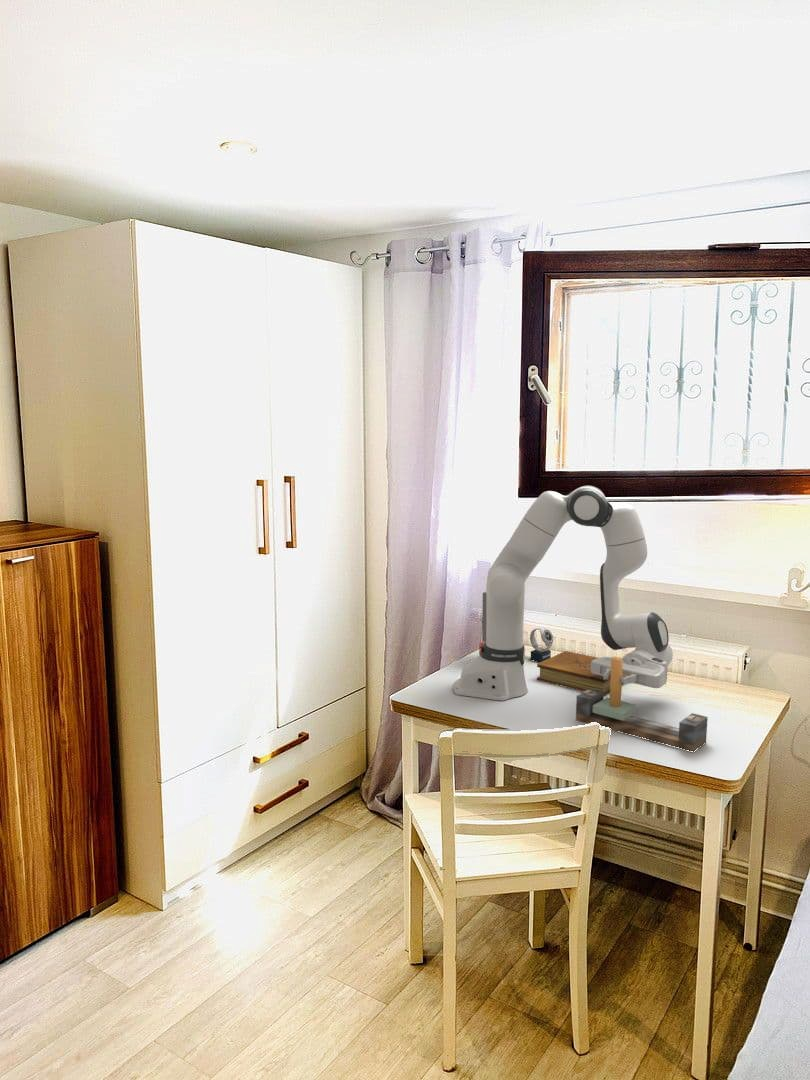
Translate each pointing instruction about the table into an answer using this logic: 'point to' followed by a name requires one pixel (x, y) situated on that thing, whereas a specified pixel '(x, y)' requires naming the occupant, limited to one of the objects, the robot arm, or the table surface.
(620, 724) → the rail
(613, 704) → the slider with orange handle
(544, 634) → the watch
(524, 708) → the table surface
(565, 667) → the diary
